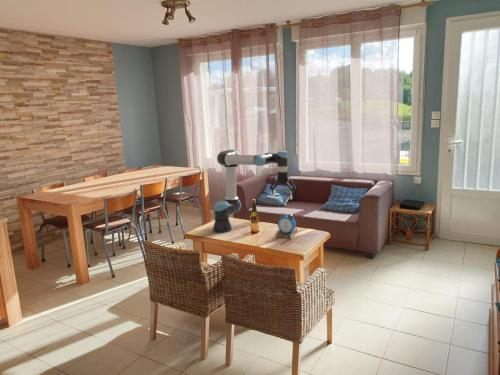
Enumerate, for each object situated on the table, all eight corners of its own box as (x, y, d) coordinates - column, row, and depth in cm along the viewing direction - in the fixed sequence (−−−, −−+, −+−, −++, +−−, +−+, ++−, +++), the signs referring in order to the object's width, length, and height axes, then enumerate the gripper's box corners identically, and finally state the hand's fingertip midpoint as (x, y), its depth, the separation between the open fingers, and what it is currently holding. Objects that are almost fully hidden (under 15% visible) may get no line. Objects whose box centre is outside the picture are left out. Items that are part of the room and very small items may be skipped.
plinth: (275, 237, 309) (275, 233, 309) (282, 230, 326) (282, 226, 325) (291, 239, 305) (291, 234, 304) (297, 232, 321) (297, 227, 321)
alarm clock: (277, 232, 315) (277, 214, 312) (280, 230, 320) (280, 212, 317) (293, 234, 309) (293, 215, 306) (296, 232, 314) (296, 213, 311)
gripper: (265, 171, 308) (265, 198, 312) (297, 172, 299) (297, 200, 303) (268, 170, 315) (268, 196, 319) (299, 171, 306) (299, 198, 310)
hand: (282, 198), depth 311 cm, fingers open, 13 cm apart
